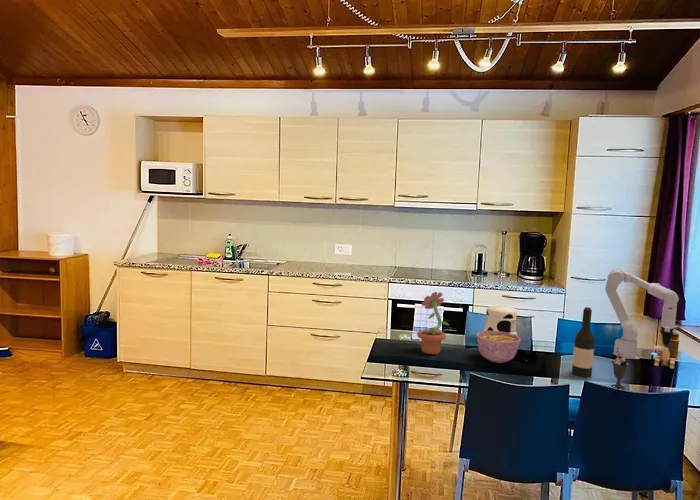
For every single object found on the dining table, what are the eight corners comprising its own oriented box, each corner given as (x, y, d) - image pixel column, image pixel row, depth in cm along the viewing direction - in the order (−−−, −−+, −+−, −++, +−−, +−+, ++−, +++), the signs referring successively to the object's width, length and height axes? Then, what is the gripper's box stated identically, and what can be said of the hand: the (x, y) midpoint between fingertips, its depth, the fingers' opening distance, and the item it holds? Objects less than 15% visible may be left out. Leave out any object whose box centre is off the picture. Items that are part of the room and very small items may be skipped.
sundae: (610, 382, 227) (614, 348, 225) (628, 386, 223) (631, 351, 221) (607, 387, 221) (611, 351, 219) (625, 391, 217) (629, 355, 216)
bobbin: (657, 361, 261) (659, 349, 260) (650, 357, 267) (651, 345, 266) (669, 361, 261) (671, 349, 261) (662, 357, 267) (663, 346, 267)
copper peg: (669, 366, 253) (671, 352, 253) (663, 366, 254) (664, 351, 253) (666, 364, 256) (667, 350, 256) (659, 364, 257) (661, 349, 256)
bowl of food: (521, 358, 255) (523, 334, 254) (515, 370, 237) (517, 344, 236) (479, 351, 264) (481, 328, 263) (470, 362, 246) (472, 337, 244)
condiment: (680, 357, 269) (683, 334, 268) (672, 360, 265) (675, 336, 263) (665, 353, 275) (668, 331, 274) (657, 355, 271) (659, 332, 269)
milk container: (480, 336, 292) (483, 304, 290) (513, 339, 290) (516, 306, 288) (484, 345, 275) (486, 311, 273) (518, 348, 273) (521, 313, 271)
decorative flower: (438, 347, 268) (442, 288, 264) (452, 355, 255) (456, 293, 251) (411, 348, 263) (415, 288, 260) (424, 357, 250) (427, 294, 247)
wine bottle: (567, 371, 239) (573, 305, 236) (585, 371, 240) (591, 305, 237) (577, 377, 231) (583, 309, 228) (595, 378, 232) (602, 310, 229)
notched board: (673, 368, 250) (674, 363, 250) (654, 365, 254) (654, 360, 254) (674, 363, 259) (674, 358, 258) (655, 360, 263) (655, 355, 262)
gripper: (678, 319, 249) (675, 348, 251) (678, 314, 261) (675, 341, 263) (661, 317, 253) (657, 345, 254) (661, 312, 265) (658, 339, 267)
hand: (665, 343), depth 259 cm, fingers open, 7 cm apart
